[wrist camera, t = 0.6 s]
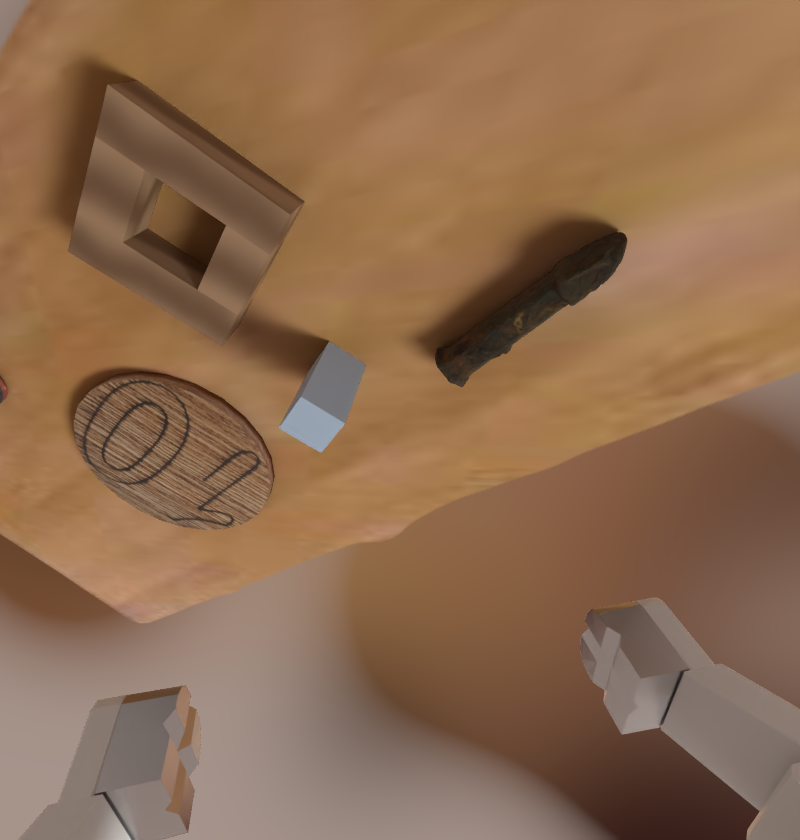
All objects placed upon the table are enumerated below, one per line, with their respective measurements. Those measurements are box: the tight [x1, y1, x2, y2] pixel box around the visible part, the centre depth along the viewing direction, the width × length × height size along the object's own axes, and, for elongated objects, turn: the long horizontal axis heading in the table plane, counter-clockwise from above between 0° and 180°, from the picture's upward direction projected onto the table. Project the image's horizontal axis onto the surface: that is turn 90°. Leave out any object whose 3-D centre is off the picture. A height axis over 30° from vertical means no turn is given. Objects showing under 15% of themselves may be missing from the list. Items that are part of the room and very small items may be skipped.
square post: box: [279, 341, 366, 452], centre depth 49 cm, size 4×4×10 cm
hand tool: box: [435, 232, 627, 387], centre depth 44 cm, size 19×4×5 cm, turn 133°
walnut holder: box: [68, 81, 304, 345], centre depth 44 cm, size 15×15×4 cm
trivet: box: [73, 372, 274, 530], centre depth 64 cm, size 25×25×2 cm
